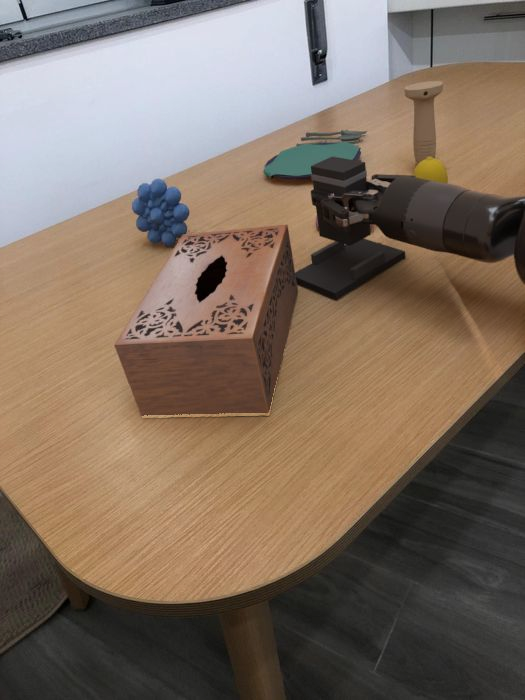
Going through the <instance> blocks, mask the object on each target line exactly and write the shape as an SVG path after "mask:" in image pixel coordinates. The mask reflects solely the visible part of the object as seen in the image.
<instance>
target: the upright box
mask: <svg viewBox="0 0 525 700" xmlns="http://www.w3.org/2000/svg"><path fill="white" fill-rule="evenodd" d="M311 173H312V174H311V178H310V179H311V181H312V187H313V189H315V188H318V189H322V190H326V191H330V192H333V193H342V194H345V193H346V192H347V191H349V190H354V191H367V189H366V182H367V179H368V178H367V177H368V173H367V167H366V161H361V160H357V161H356V160H350V159H344V158H339V157H333V156H332V157H330V158H328V159H325V160H323V161H321V162H319V163H316V164H314V165H312V166H311ZM366 178H367V179H366ZM354 199H355V198H353V205H354ZM339 205H341V206H342V207H344V204H343V201H339ZM315 210H316V217H317V219H318V227H319V230H318V235H319V237H321V238H324V239H328V240H330V241H332V242H335V241H336V242H340V243H343V244H344V245H349V246H351V245H353V244H355V243H357V242H358V241H360V240H362V239H366V238H368V237H369V236H371V235H372V232H371V231H370V224H362V223H361V222H357V223H354V224H350V231H348V232H340V231H339V230H338V229H336V228H335V227H333V226H332V225H331V224H329V223H328V222H326V221H325V220H324V219H323V208H321V207H317V206H315Z"/></svg>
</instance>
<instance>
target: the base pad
mask: <svg viewBox="0 0 525 700" xmlns="http://www.w3.org/2000/svg"><path fill="white" fill-rule="evenodd" d="M310 259H311V263H310V264H308V265H306V266H304V267H302V268H300V269H298V270H297V271H295V275H296V282H297V286H300V287H303V288H304V289H307V290H310V291H312V292H314V293H316V294H318V295H322V296H324V297H326V298H328V299H331V300H333V301H338V300H339V299H341V298H343V297H345V296H346V295H348V294H350V293H351V292H353V291H354V290H356V289H358V288H360V287H362V285H364V284H366V283H368V282H370V281H371V280H373V279H375V278H376V277H377V276H379V275H381V274H382V273H384V272H386V271H387V270H389V269H391V268H393V267H394V266H395V265H397V264H399V263H401V262H402V261H404V260H405V259H406V250H403V249H400V248H396V247H393V246H390V245H386V244H383V243H380V242H376V241H374V240H370V239H368V238H367V239H366V238H364V239H362V240H360V241H358V242H357V243H355V244H353V245H351V246H349V245H346V244H343V243H340V242H336V241H332V242H331V243H329V244H328V245H326V246H323V247H322V248H319V250H317V251H315V252H313V253H310Z"/></svg>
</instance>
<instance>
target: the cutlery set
mask: <svg viewBox="0 0 525 700" xmlns="http://www.w3.org/2000/svg"><path fill="white" fill-rule="evenodd" d="M367 132H368V130H362V131H360V130H348V129H345V130H344V129H341V130H340V131H334V132H311V131H310V132H309V131H308V132H305V136H302V137H301V138H300V141H301V142H306V141H318V142H309V143H296V144H295V145H296V146H293V147H289V148H287V149H283V150H281V151H279V152H278V154H276V155H274V156H273V157H271V158H270V159H268V160H267V161H266V163H265V165H264V168H263V171H262V172H263V174H264V175H265V176H266V177H268V178H269V179H271V180H272V179H273V178H279V179H283V180H305V179H306V180H307V179H312V178H311V174H312V173H311V166H312V165H314V164H316V163H319V162H321V161H323V160H325V159H328V158H330V157H332V156H333V157H339V158H344V159H350V160H356V161H359V160H360V158H361V155H362V151H361V149H362V148H361V147H360V146H359V145H357V144H359V143H360V140H359V139H361V138H363V136H364V135H366V133H367ZM337 135H340V136H337ZM333 136H337V137H333ZM319 140H320V141H319ZM322 140H325V141H322ZM328 140H337V141H328ZM338 140H340V141H338ZM355 144H356V145H355Z"/></svg>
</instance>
